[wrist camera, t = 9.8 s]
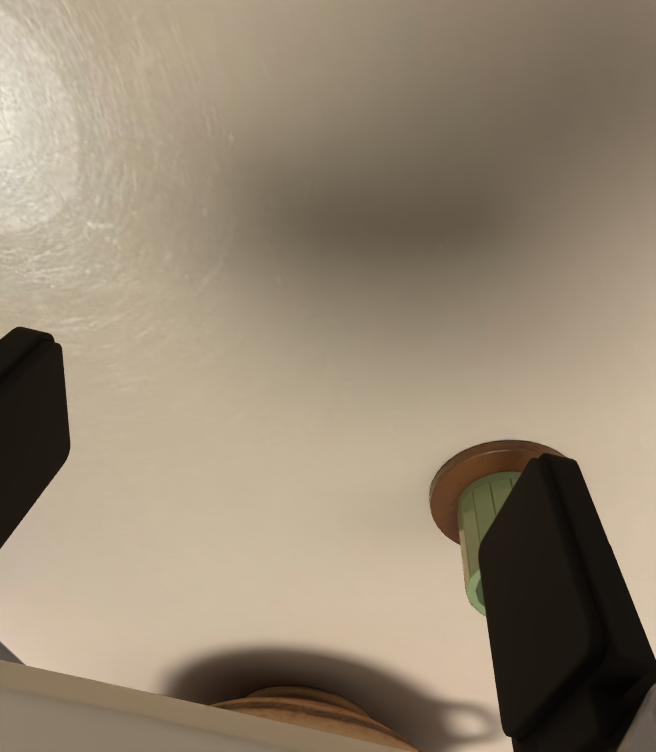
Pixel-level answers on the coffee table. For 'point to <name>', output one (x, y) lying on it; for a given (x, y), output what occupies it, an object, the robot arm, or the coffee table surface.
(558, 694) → the robot arm
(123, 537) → the coffee table surface
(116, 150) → the coffee table surface
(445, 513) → the brown dish
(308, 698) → the ceramic bowl
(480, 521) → the green grooved mug
